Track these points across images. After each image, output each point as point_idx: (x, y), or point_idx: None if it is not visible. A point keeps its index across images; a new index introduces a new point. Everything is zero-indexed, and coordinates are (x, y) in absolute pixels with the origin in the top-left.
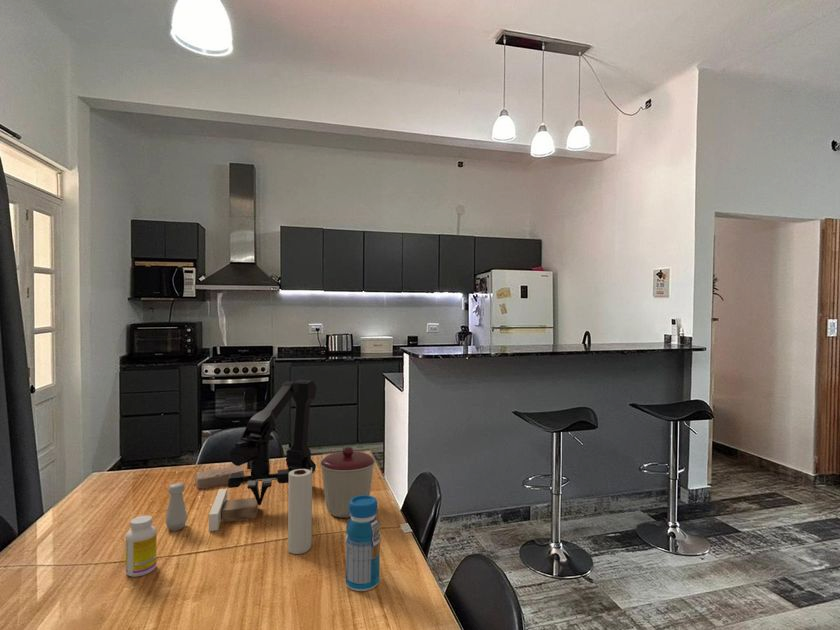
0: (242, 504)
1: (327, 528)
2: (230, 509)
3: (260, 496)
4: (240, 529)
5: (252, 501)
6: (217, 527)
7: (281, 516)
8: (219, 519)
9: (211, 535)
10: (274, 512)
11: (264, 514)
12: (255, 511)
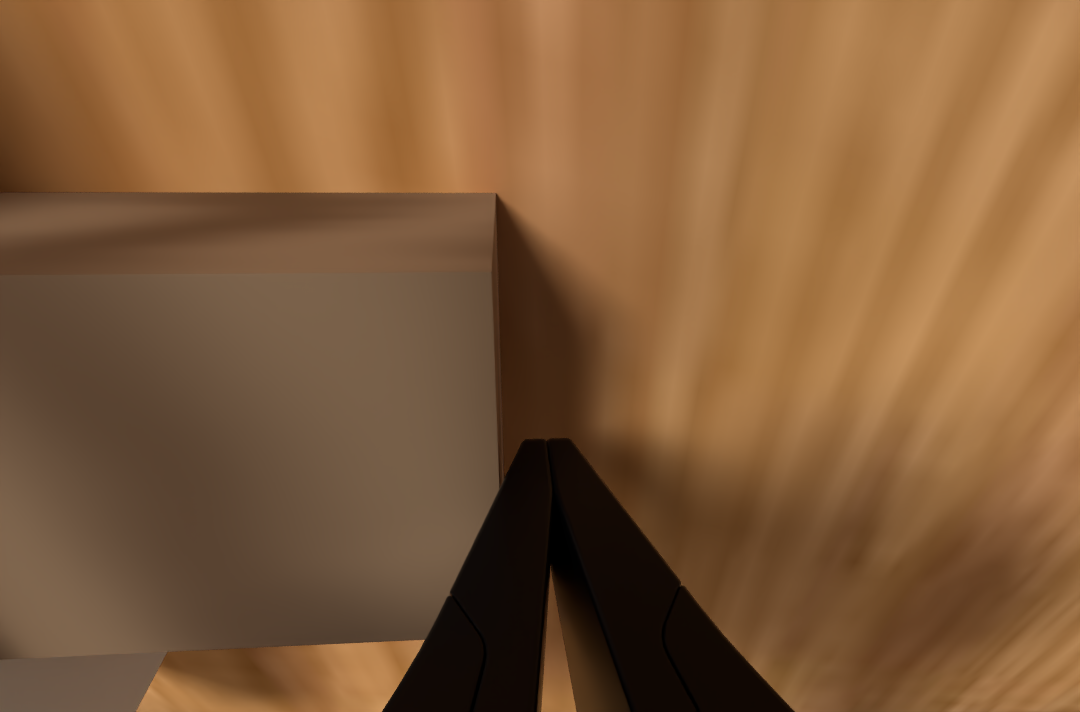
0: (238, 542)
1: (1016, 687)
2: (115, 649)
3: (580, 702)
4: (387, 642)
5: (401, 464)
6: (154, 670)
7: (782, 505)
8: None
9: (164, 683)
10: (732, 404)
11: (602, 432)
12: None
